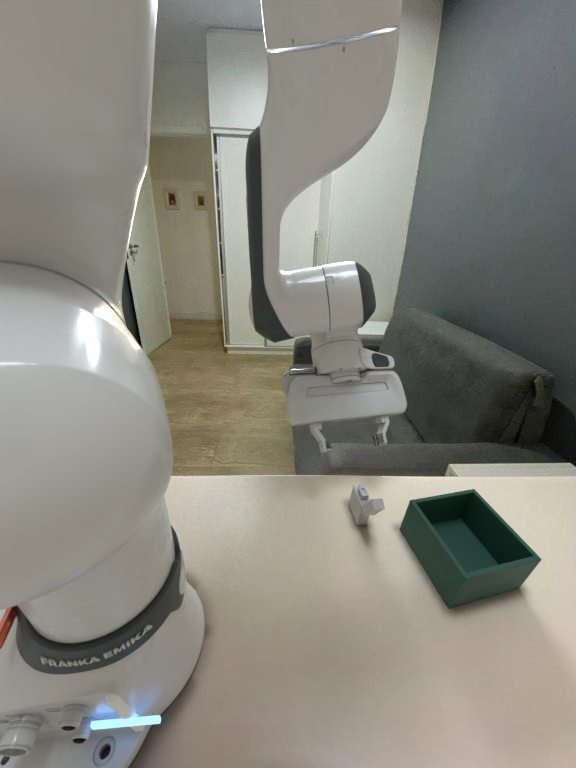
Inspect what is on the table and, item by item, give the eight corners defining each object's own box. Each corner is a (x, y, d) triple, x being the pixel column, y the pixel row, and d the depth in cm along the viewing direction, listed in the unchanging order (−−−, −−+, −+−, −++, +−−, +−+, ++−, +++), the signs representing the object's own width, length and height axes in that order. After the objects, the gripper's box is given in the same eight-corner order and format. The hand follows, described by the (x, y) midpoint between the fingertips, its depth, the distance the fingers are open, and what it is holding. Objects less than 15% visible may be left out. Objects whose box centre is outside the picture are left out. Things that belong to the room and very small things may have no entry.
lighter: (348, 503, 51) (356, 467, 47) (358, 502, 52) (367, 467, 48) (363, 543, 45) (374, 506, 41) (374, 541, 46) (386, 505, 42)
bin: (448, 608, 38) (465, 579, 35) (399, 528, 48) (409, 500, 44) (519, 588, 41) (542, 559, 38) (460, 516, 50) (474, 488, 47)
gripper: (283, 363, 47) (295, 455, 43) (402, 356, 52) (421, 439, 48) (276, 375, 53) (286, 457, 49) (383, 368, 58) (399, 443, 54)
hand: (354, 448), depth 49 cm, fingers open, 8 cm apart
